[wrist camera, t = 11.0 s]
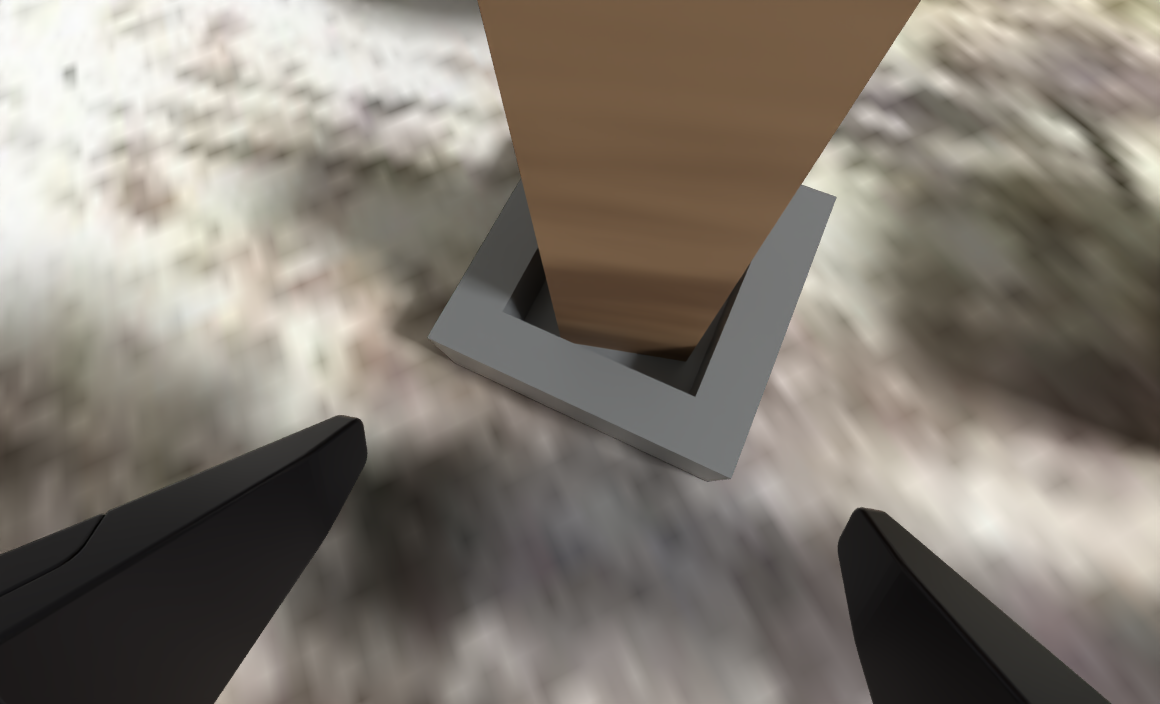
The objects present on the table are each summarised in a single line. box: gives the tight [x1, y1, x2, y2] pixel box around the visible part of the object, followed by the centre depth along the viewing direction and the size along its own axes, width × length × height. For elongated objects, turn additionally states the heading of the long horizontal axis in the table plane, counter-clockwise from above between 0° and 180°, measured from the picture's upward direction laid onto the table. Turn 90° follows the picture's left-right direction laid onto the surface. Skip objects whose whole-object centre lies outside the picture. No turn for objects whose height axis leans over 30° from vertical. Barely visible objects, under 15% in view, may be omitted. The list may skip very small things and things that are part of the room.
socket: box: [427, 179, 836, 482], centre depth 17 cm, size 10×10×3 cm
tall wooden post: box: [477, 0, 921, 362], centre depth 11 cm, size 4×4×13 cm
